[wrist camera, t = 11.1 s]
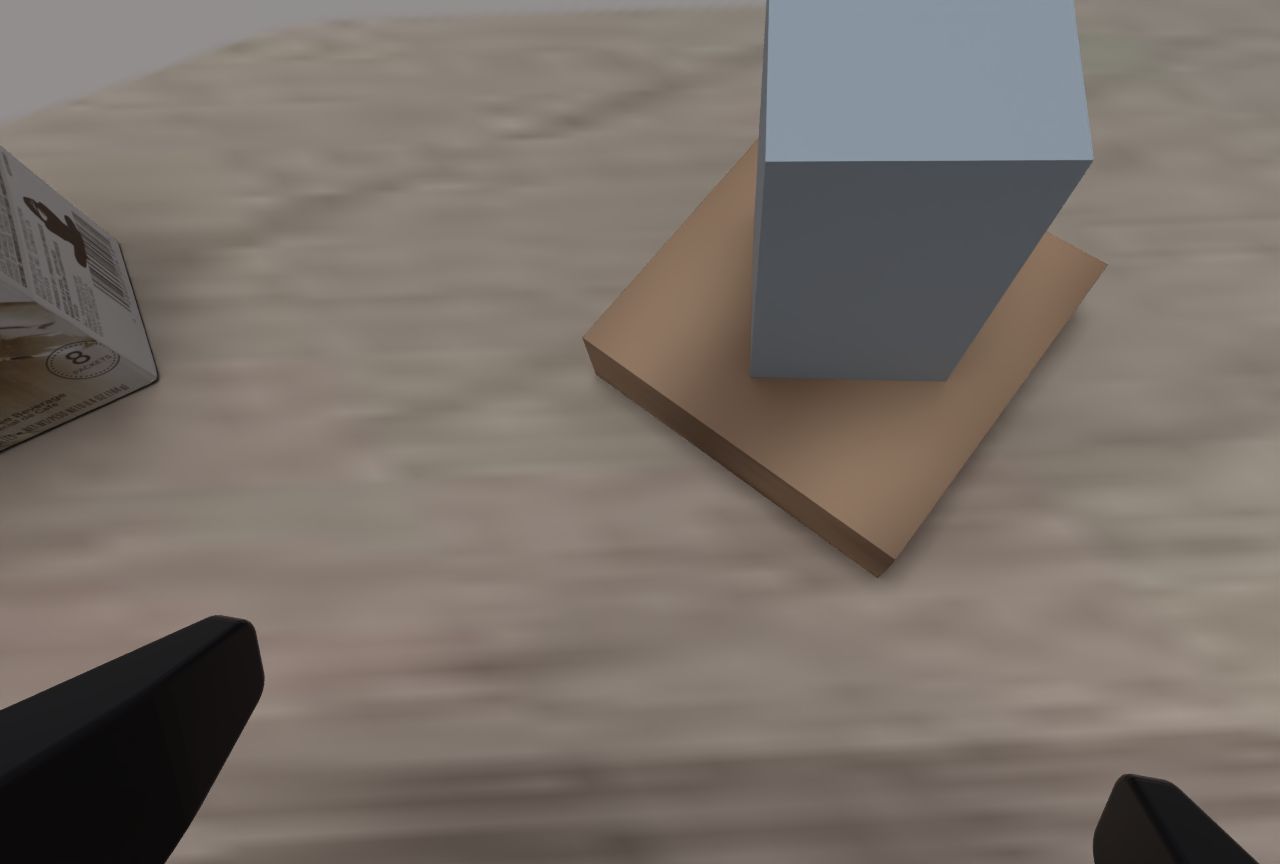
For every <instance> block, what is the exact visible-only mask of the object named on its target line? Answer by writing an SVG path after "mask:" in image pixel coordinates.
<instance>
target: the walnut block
mask: <svg viewBox="0 0 1280 864" xmlns="http://www.w3.org/2000/svg"><path fill="white" fill-rule="evenodd" d="M758 143H759V138H758V139H757V141H756V142H755V143H754V144H753V145H752V146H751V147H750V148H749V150H748V151H747V152H746V153H745V154H744V155H743V156H742V157H741V159H740V160H739V161H738V162H737V163H736V164H735V165H734V167H733V168H732V169H731V170H730V171H729V172H728V173H727V174H726V176H725V177H724V178H723V179H722V180H721V181H720V182H719V184H718V185H717V186H716V187H715V188H714V189H713V190H712V191H711V193H710V194H709V195H708V196H707V197H706V198H705V199H704V201H703V202H702V203H701V204H700V205H699V206H698V207H697V208H696V210H695V211H694V212H693V213H692V214H691V215H690V216H689V217H688V219H687V220H686V221H685V222H684V223H683V224H682V225H681V227H680V228H679V229H678V230H677V231H676V232H675V233H674V234H673V236H672V237H671V238H670V239H669V240H668V241H667V242H666V244H665V245H664V246H663V247H662V248H661V249H660V250H659V251H658V253H657V254H656V255H655V256H654V257H653V258H652V259H651V261H650V262H649V263H648V264H647V265H646V266H645V267H644V268H643V270H642V271H641V272H640V273H639V274H638V275H637V276H636V277H635V279H634V280H633V281H632V282H631V283H630V284H629V285H628V287H627V288H626V289H625V290H624V291H623V292H622V293H621V294H620V296H619V297H618V298H617V299H616V300H615V301H614V302H613V304H612V305H611V306H610V307H609V308H608V309H607V310H606V311H605V313H604V314H603V315H602V316H601V317H600V318H599V319H598V321H597V322H596V323H595V324H594V325H593V326H592V327H591V328H590V330H589V331H588V332H587V333H586V334H585V335H584V336H583V337H582V338H583V340H584V343H585V346H586V348H587V351H588V354H589V357H590V359H591V362H592V365H593V367H594V370H595V373H596V374H597V375H598V376H600V377H601V378H602V379H604V380H605V381H606V382H608V383H609V384H611V385H612V386H613V387H615V388H616V389H617V390H619V391H620V392H622V393H623V394H624V395H626V396H627V397H629V398H630V399H631V400H633V401H634V402H635V403H637V404H638V405H640V406H641V407H642V408H644V409H645V410H646V411H648V412H649V413H651V414H652V415H653V416H655V417H656V418H658V419H659V420H660V421H662V422H663V423H664V424H666V425H667V426H669V427H670V428H671V429H673V430H674V431H675V432H677V433H678V434H680V435H681V436H682V437H684V438H685V439H687V440H688V441H689V442H691V443H692V444H693V445H695V446H696V447H698V448H699V449H700V450H702V451H703V452H704V453H706V454H707V455H709V456H710V457H711V458H713V459H714V460H716V461H717V462H718V463H720V464H721V465H722V466H724V467H725V468H727V469H728V470H729V471H731V472H732V473H733V474H735V475H736V476H738V477H739V478H740V479H742V480H743V481H744V482H746V483H747V484H749V485H750V486H751V487H753V488H754V489H756V490H757V491H758V492H760V493H761V494H762V495H764V496H765V497H767V498H768V499H769V500H771V501H772V502H773V503H775V504H776V505H778V506H779V507H780V508H782V509H783V510H785V511H786V512H787V513H789V514H790V515H791V516H793V517H794V518H796V519H797V520H798V521H800V522H801V523H802V524H804V525H805V526H807V527H808V528H809V529H811V530H812V531H814V532H815V533H816V534H818V535H819V536H820V537H822V538H823V539H825V540H826V541H827V542H829V543H830V544H831V545H833V546H834V547H836V548H837V549H838V550H840V551H841V552H843V553H844V554H845V555H847V556H848V557H849V558H851V559H852V560H854V561H855V562H856V563H858V564H859V565H860V566H862V567H863V568H865V569H866V570H867V571H869V572H870V573H871V574H873V575H874V576H876V577H877V578H878V577H879V576H880V575H881V574H882V573H883V572H884V571H885V570H886V569H887V568H888V567H889V566H890V565H891V564H892V563H893V562H894V561H895V560H896V558H897V557H898V556H899V554H900V553H901V552H902V550H903V549H904V547H905V546H906V545H907V543H908V542H909V540H910V539H911V538H912V536H913V535H914V533H915V532H916V531H917V529H918V528H919V527H920V525H921V524H922V522H923V521H924V520H925V518H926V517H927V515H928V514H929V513H930V511H931V510H932V508H933V507H934V506H935V504H936V503H937V502H938V500H939V499H940V497H941V496H942V495H943V493H944V492H945V490H946V489H947V488H948V486H949V485H950V483H951V482H952V481H953V479H954V478H955V477H956V475H957V474H958V472H959V471H960V470H961V468H962V467H963V465H964V464H965V463H966V461H967V460H968V459H969V457H970V456H971V454H972V453H973V452H974V450H975V449H976V447H977V446H978V445H979V443H980V442H981V440H982V439H983V438H984V436H985V435H986V434H987V432H988V431H989V429H990V428H991V427H992V425H993V424H994V422H995V421H996V420H997V418H998V417H999V415H1000V414H1001V413H1002V411H1003V410H1004V409H1005V407H1006V406H1007V404H1008V403H1009V402H1010V400H1011V399H1012V397H1013V396H1014V395H1015V393H1016V392H1017V390H1018V389H1019V388H1020V386H1021V385H1022V384H1023V382H1024V381H1025V379H1026V378H1027V377H1028V375H1029V374H1030V372H1031V371H1032V370H1033V368H1034V367H1035V365H1036V364H1037V363H1038V361H1039V360H1040V359H1041V357H1042V356H1043V354H1044V353H1045V352H1046V350H1047V349H1048V347H1049V346H1050V345H1051V343H1052V342H1053V341H1054V339H1055V338H1056V336H1057V335H1058V334H1059V332H1060V331H1061V329H1062V328H1063V327H1064V325H1065V324H1066V322H1067V321H1068V320H1069V318H1070V317H1071V316H1072V314H1073V313H1074V311H1075V310H1076V309H1077V307H1078V306H1079V304H1080V303H1081V302H1082V300H1083V299H1084V297H1085V296H1086V295H1087V293H1088V292H1089V291H1090V289H1091V288H1092V286H1093V285H1094V284H1095V282H1096V281H1097V279H1098V278H1099V277H1100V275H1101V274H1102V272H1103V271H1104V270H1105V268H1106V267H1107V266H1108V264H1106V263H1104V262H1102V261H1100V260H1098V259H1097V258H1095V257H1093V256H1091V255H1089V254H1087V253H1086V252H1084V251H1082V250H1080V249H1078V248H1076V247H1074V246H1073V245H1071V244H1069V243H1067V242H1065V241H1063V240H1062V239H1060V238H1058V237H1056V236H1054V235H1052V234H1051V233H1049V232H1047V231H1046V232H1045V234H1044V235H1043V237H1042V238H1041V240H1040V241H1039V243H1038V244H1037V246H1036V247H1035V249H1034V250H1033V252H1032V253H1031V255H1030V256H1029V258H1028V259H1027V261H1026V262H1025V264H1024V265H1023V267H1022V268H1021V270H1020V271H1019V273H1018V274H1017V276H1016V277H1015V279H1014V280H1013V282H1012V283H1011V285H1010V286H1009V288H1008V289H1007V291H1006V292H1005V294H1004V295H1003V297H1002V298H1001V300H1000V301H999V303H998V304H997V306H996V307H995V309H994V310H993V312H992V313H991V315H990V316H989V318H988V319H987V321H986V322H985V324H984V325H983V327H982V328H981V330H980V331H979V333H978V334H977V336H976V337H975V339H974V340H973V342H972V343H971V345H970V346H969V348H968V349H967V351H966V352H965V354H964V355H963V357H962V358H961V360H960V361H959V363H958V364H957V366H956V367H955V369H954V370H953V372H952V373H951V375H950V376H949V378H948V379H947V381H946V382H936V381H894V380H853V379H812V378H770V377H750V356H751V319H752V283H753V247H754V212H755V195H756V177H757V160H758Z"/></svg>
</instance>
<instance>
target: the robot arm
mask: <svg viewBox="0 0 1280 864" xmlns="http://www.w3.org/2000/svg"><path fill="white" fill-rule="evenodd" d="M264 678H265V677H264V670H263V665H262V660H261V655H260V650H259V645H258V640H257V635H256V631H255V628H254V626H253V625H252V624H251V622H249V621H247V620H245V619H239V618H233V617H228V616H222V615H215V616H210V617H208V618H205V619H203V620H201V621H199V622H196V623H194V624H192V625H190V626H188V627H185V628H183V629H181V630H179V631H176V632H174V633H172V634H170V635H167V636H165V637H163V638H161V639H159V640H156V641H154V642H152V643H150V644H147V645H145V646H143V647H141V648H139V649H136V650H134V651H132V652H130V653H127V654H125V655H123V656H121V657H118V658H116V659H114V660H112V661H110V662H107V663H105V664H103V665H101V666H98V667H96V668H94V669H92V670H90V671H87V672H85V673H83V674H81V675H78V676H76V677H74V678H72V679H69V680H67V681H65V682H63V683H61V684H58V685H56V686H54V687H52V688H49V689H47V690H45V691H43V692H40V693H38V694H36V695H34V696H32V697H29V698H27V699H25V700H23V701H20V702H18V703H16V704H14V705H11V706H9V707H7V708H5V709H3V710H0V864H165V862H166V861H167V859H168V858H169V856H170V855H171V853H172V852H173V850H174V849H175V847H176V846H177V844H178V843H179V841H180V840H181V838H182V837H183V835H184V833H185V832H186V830H187V829H188V827H189V826H190V824H191V822H192V821H193V819H194V817H195V816H196V814H197V812H198V810H199V809H200V807H201V805H202V804H203V802H204V800H205V798H206V796H207V794H208V793H209V791H210V789H211V787H212V785H213V784H214V782H215V780H216V778H217V776H218V774H219V773H220V771H221V769H222V767H223V765H224V763H225V762H226V760H227V758H228V756H229V754H230V753H231V751H232V749H233V747H234V745H235V743H236V742H237V740H238V738H239V736H240V734H241V733H242V731H243V729H244V727H245V725H246V723H247V722H248V720H249V718H250V716H251V714H252V712H253V711H254V709H255V707H256V705H257V703H258V702H259V699H260V697H261V694H262V692H263V688H264ZM1093 856H1094V862H1095V864H1259V863H1258V862H1257V861H1256V860H1255V859H1254V858H1253V857H1252V856H1251V855H1249V854H1248V853H1247V852H1246V851H1245V850H1244V849H1243V848H1242V847H1241V846H1240V845H1239V844H1238V843H1237V842H1236V841H1235V840H1234V839H1232V838H1231V837H1230V836H1229V835H1228V834H1227V833H1226V832H1225V831H1224V830H1223V829H1222V828H1221V827H1220V826H1219V825H1218V824H1217V823H1215V822H1214V821H1213V820H1212V819H1211V818H1210V817H1209V816H1208V815H1207V814H1206V813H1205V812H1204V811H1203V810H1202V809H1201V808H1200V807H1198V806H1197V805H1196V804H1195V803H1194V802H1193V801H1192V800H1191V799H1190V798H1189V797H1188V796H1187V795H1186V794H1185V793H1184V792H1183V791H1181V790H1180V789H1179V788H1178V787H1177V786H1176V785H1174V784H1173V783H1171V782H1169V781H1166V780H1163V779H1157V778H1152V777H1146V776H1140V775H1135V774H1124V775H1122V776H1121V777H1120V778H1119V779H1118V780H1117V781H1116V783H1115V785H1114V787H1113V789H1112V792H1111V794H1110V796H1109V799H1108V801H1107V803H1106V806H1105V808H1104V810H1103V813H1102V815H1101V817H1100V820H1099V822H1098V824H1097V827H1096V830H1095V833H1094V838H1093Z"/></svg>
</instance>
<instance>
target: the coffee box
mask: <svg viewBox="0 0 1280 864" xmlns="http://www.w3.org/2000/svg"><path fill="white" fill-rule="evenodd" d="M156 378H157V371H156V367H155V363H154V360H153V357H152V354H151V350H150V347H149V344H148V341H147V337H146V334H145V331H144V327H143V324H142V321H141V317H140V314H139V311H138V308H137V304H136V301H135V297H134V294H133V290H132V287H131V284H130V281H129V278H128V275H127V271H126V268H125V264H124V261H123V258H122V255H121V251H120V248H119V245H118V242H117V241H116V240H115V239H114V238H113V237H111V236H110V235H109V234H108V233H107V232H105V231H104V230H103V229H102V228H100V227H99V226H98V225H97V224H95V223H94V222H93V221H92V220H90V219H89V218H88V217H87V216H85V215H84V214H83V213H82V212H80V211H79V210H78V209H77V208H75V207H74V206H73V205H72V204H71V203H69V202H68V201H67V200H66V199H65V198H63V197H62V196H61V195H60V194H58V193H57V192H56V191H54V190H53V189H52V188H51V187H50V186H49V185H48V184H46V183H45V182H44V181H43V180H42V179H40V178H39V177H38V176H36V175H35V174H34V173H33V172H32V171H31V170H29V169H28V168H27V167H26V166H24V165H23V164H22V163H21V162H19V161H18V160H17V159H16V158H15V157H14V156H12V155H11V154H10V153H9V152H8V151H6V150H5V149H4V148H3V147H1V146H0V451H1V450H3V449H6V448H8V447H10V446H12V445H15V444H17V443H19V442H21V441H24V440H26V439H28V438H30V437H33V436H35V435H37V434H39V433H41V432H43V431H46V430H48V429H50V428H52V427H55V426H57V425H59V424H62V423H64V422H66V421H68V420H71V419H73V418H75V417H77V416H79V415H81V414H84V413H86V412H88V411H90V410H93V409H95V408H97V407H100V406H102V405H104V404H106V403H109V402H111V401H113V400H115V399H117V398H120V397H122V396H124V395H126V394H128V393H131V392H133V391H135V390H137V389H139V388H141V387H143V386H146V385H148V384H150V383H152V382H153V381H155V380H156Z"/></svg>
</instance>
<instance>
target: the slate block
mask: <svg viewBox="0 0 1280 864" xmlns="http://www.w3.org/2000/svg"><path fill="white" fill-rule="evenodd" d="M1093 160H1094V159H1093V151H1092V143H1091V135H1090V128H1089V120H1088V112H1087V104H1086V96H1085V88H1084V81H1083V73H1082V65H1081V57H1080V49H1079V41H1078V33H1077V26H1076V18H1075V10H1074V2H1073V0H767V3H766V21H765V38H764V55H763V73H762V90H761V108H760V125H759V143H758V160H757V177H756V195H755V212H754V247H753V283H752V319H751V356H750V377H770V378H812V379H853V380H894V381H936V382H946V381H947V379H948V378H949V376H950V375H951V373H952V372H953V370H954V369H955V367H956V366H957V364H958V363H959V361H960V360H961V358H962V357H963V355H964V354H965V352H966V351H967V349H968V348H969V346H970V345H971V343H972V342H973V340H974V339H975V337H976V336H977V334H978V333H979V331H980V330H981V328H982V327H983V325H984V324H985V322H986V321H987V319H988V318H989V316H990V315H991V313H992V312H993V310H994V309H995V307H996V306H997V304H998V303H999V301H1000V300H1001V298H1002V297H1003V295H1004V294H1005V292H1006V291H1007V289H1008V288H1009V286H1010V285H1011V283H1012V282H1013V280H1014V279H1015V277H1016V276H1017V274H1018V273H1019V271H1020V270H1021V268H1022V267H1023V265H1024V264H1025V262H1026V261H1027V259H1028V258H1029V256H1030V255H1031V253H1032V252H1033V250H1034V249H1035V247H1036V246H1037V244H1038V243H1039V241H1040V240H1041V238H1042V237H1043V235H1044V234H1045V232H1046V231H1047V229H1048V228H1049V226H1050V225H1051V223H1052V222H1053V220H1054V219H1055V217H1056V216H1057V214H1058V213H1059V211H1060V210H1061V208H1062V207H1063V205H1064V204H1065V202H1066V201H1067V199H1068V198H1069V196H1070V195H1071V193H1072V192H1073V190H1074V189H1075V187H1076V186H1077V184H1078V183H1079V181H1080V180H1081V178H1082V177H1083V175H1084V174H1085V172H1086V171H1087V169H1088V168H1089V166H1090V165H1091V163H1092V162H1093Z"/></svg>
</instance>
